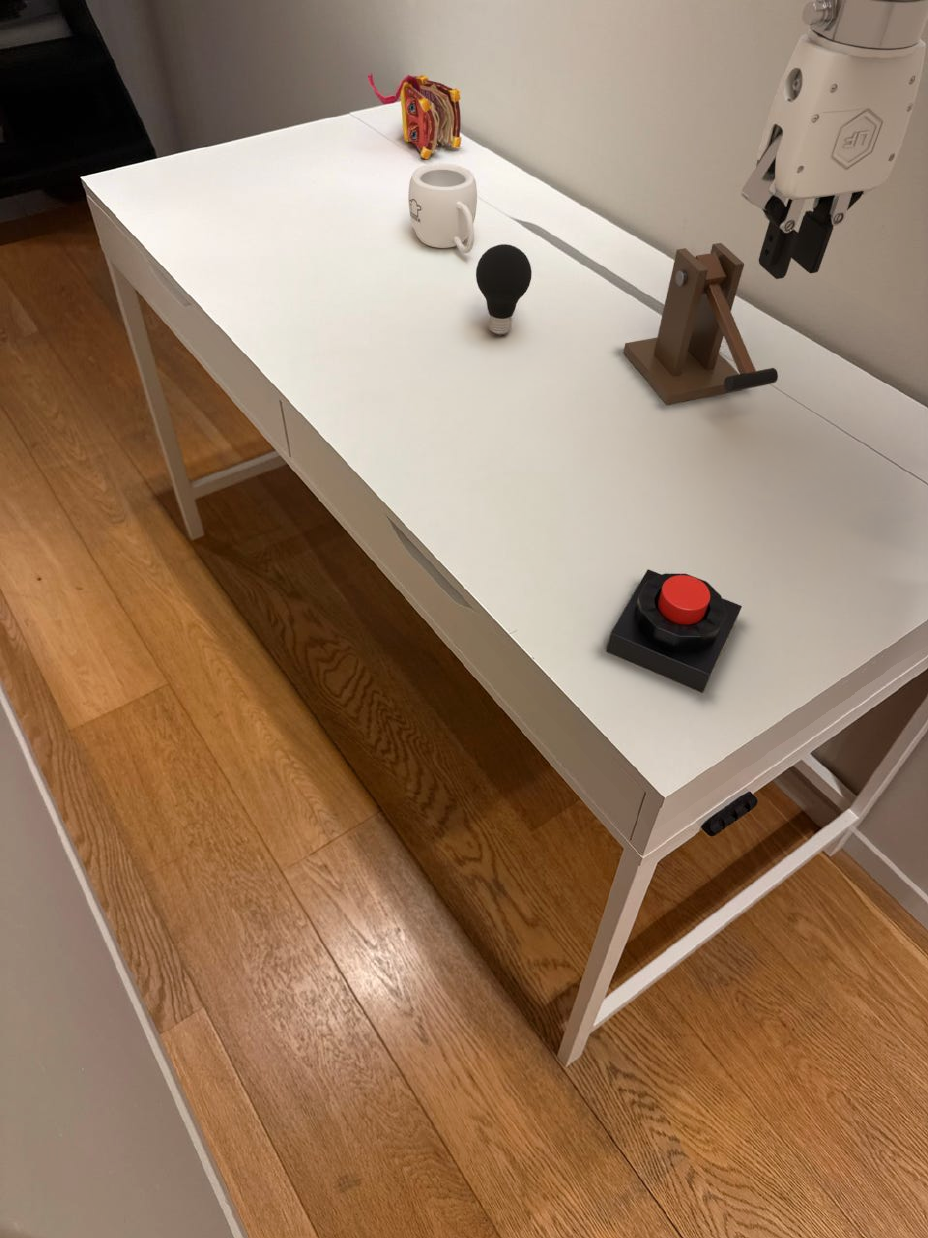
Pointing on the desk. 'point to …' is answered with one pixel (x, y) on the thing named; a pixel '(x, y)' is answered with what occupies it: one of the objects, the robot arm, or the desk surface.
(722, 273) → the lever
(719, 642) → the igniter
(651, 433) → the desk surface
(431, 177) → the mug
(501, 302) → the light bulb
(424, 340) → the desk surface
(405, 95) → the book monster
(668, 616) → the button
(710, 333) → the bracket
